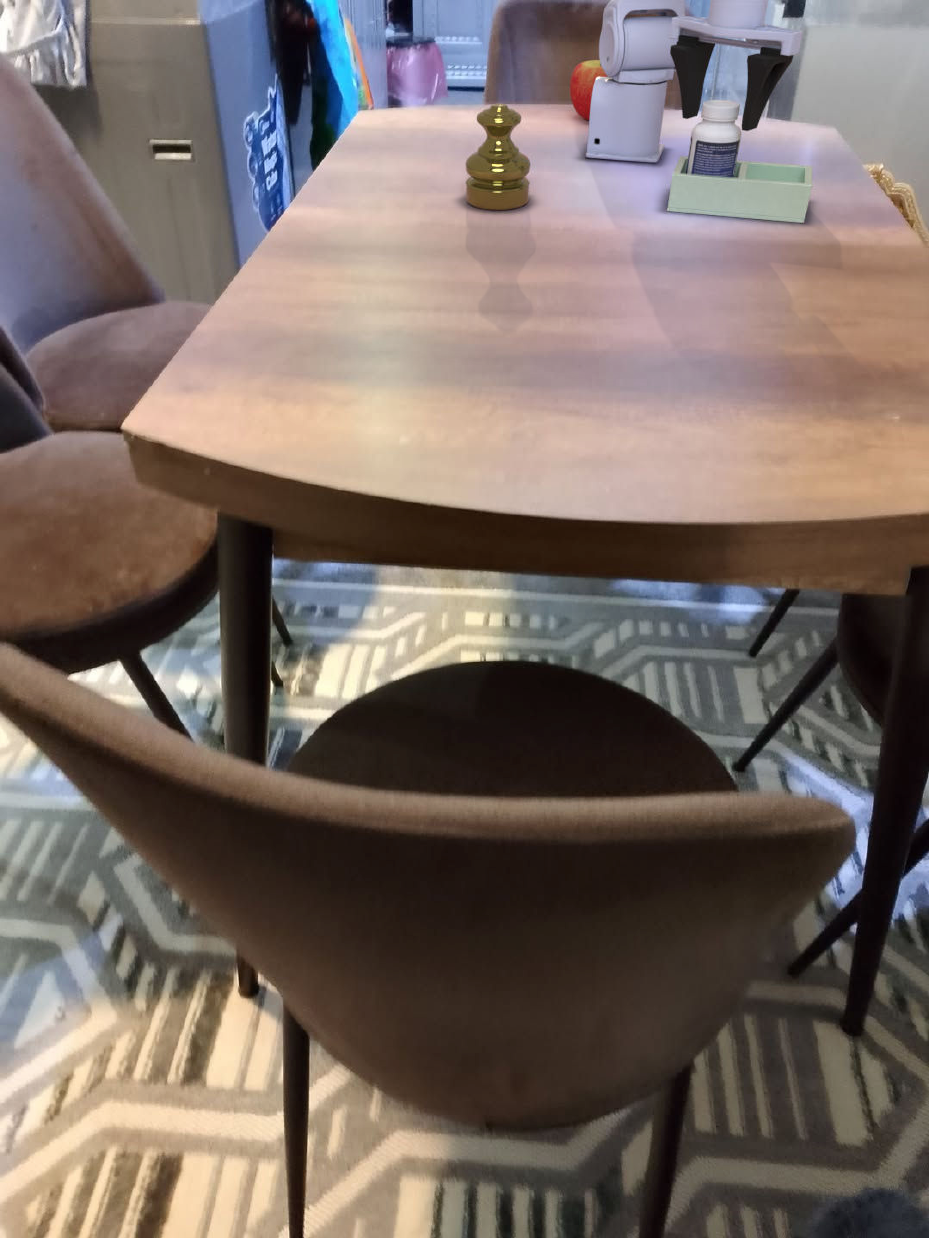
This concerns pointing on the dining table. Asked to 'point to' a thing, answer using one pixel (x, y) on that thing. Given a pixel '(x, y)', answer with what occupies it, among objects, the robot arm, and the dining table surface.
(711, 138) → the pill bottle
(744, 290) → the dining table surface
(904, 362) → the dining table surface
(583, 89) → the apple
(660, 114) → the robot arm
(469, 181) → the salt shaker
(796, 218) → the holder
